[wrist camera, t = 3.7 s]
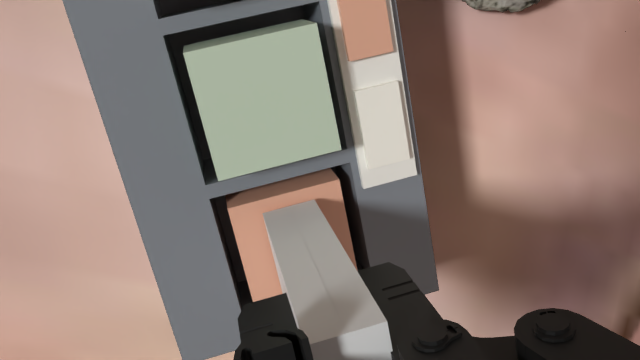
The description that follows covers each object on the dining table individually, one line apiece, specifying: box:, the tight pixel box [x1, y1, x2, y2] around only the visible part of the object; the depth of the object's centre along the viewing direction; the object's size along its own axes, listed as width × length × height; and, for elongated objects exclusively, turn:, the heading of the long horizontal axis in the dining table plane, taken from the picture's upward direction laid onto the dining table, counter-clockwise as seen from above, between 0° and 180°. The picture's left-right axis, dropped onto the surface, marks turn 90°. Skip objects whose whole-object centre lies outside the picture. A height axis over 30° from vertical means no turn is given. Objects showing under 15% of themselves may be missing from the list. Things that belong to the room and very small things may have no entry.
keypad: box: [62, 0, 439, 360], centre depth 17 cm, size 14×8×4 cm, turn 12°
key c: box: [225, 168, 357, 302], centre depth 18 cm, size 3×3×2 cm
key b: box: [183, 19, 342, 181], centre depth 15 cm, size 3×3×2 cm
